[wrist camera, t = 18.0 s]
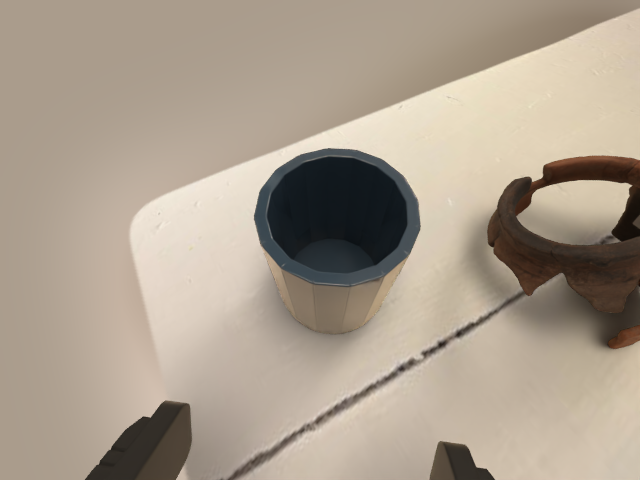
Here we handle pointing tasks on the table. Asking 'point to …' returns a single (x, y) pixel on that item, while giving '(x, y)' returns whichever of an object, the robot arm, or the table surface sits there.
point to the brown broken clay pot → (575, 260)
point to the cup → (336, 235)
